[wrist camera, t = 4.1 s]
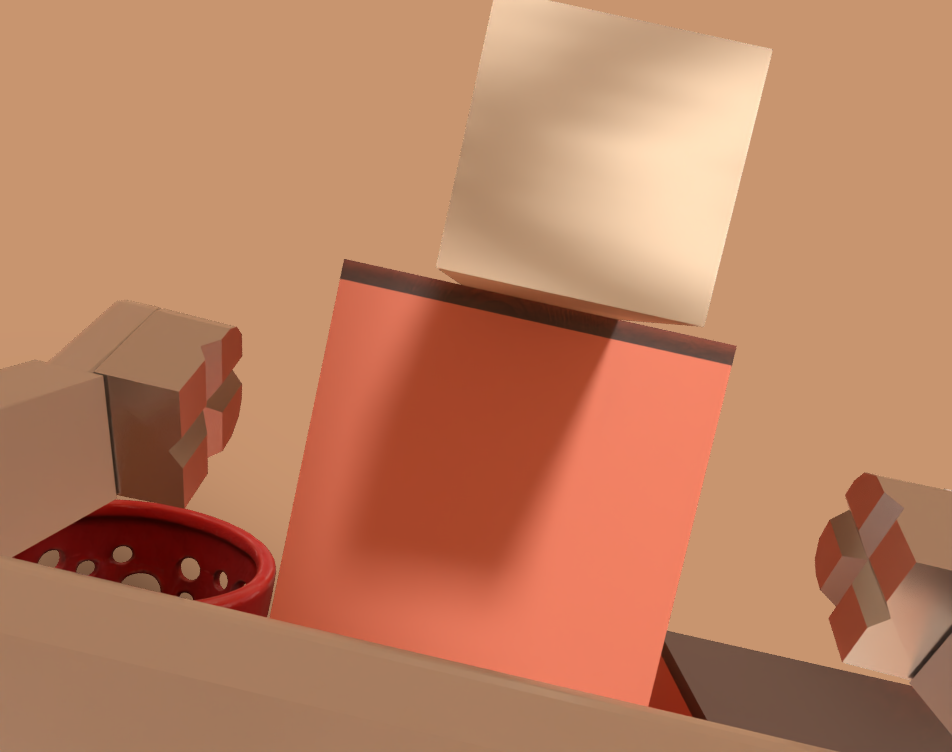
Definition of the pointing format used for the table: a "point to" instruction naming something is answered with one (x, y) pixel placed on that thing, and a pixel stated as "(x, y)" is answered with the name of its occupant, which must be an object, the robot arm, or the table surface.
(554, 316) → the stand
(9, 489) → the robot arm
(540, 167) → the box
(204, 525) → the plant pot
